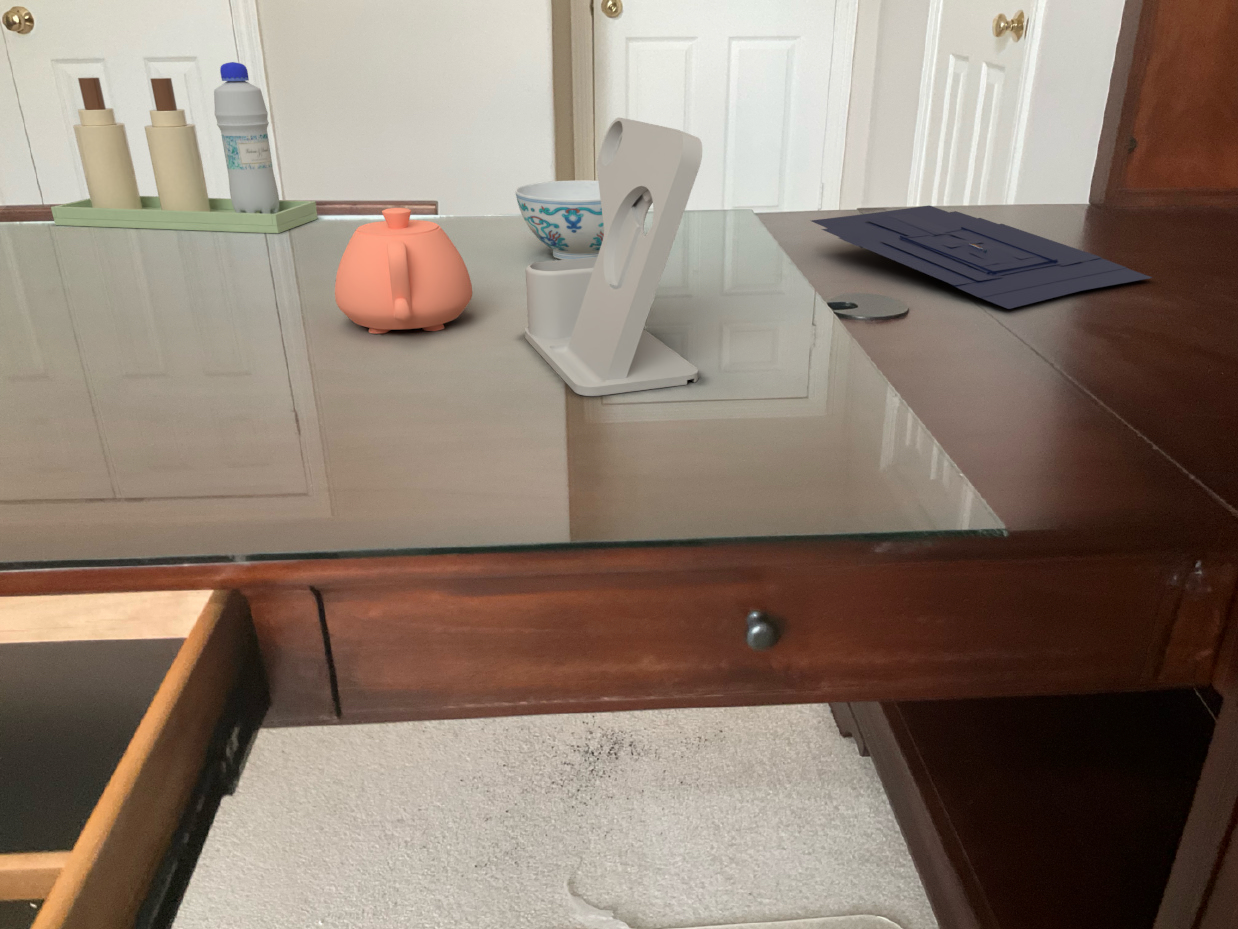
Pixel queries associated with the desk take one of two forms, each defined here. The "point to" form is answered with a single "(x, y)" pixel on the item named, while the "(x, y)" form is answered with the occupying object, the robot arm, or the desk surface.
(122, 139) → the stoneware bottle
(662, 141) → the phone holder
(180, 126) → the stoneware bottle
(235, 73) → the bottle
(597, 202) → the chinaware
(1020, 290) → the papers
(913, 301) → the desk surface
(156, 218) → the tray
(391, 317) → the orange teapot
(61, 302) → the desk surface
